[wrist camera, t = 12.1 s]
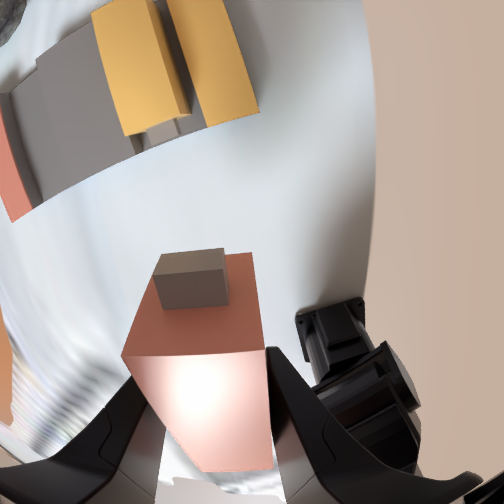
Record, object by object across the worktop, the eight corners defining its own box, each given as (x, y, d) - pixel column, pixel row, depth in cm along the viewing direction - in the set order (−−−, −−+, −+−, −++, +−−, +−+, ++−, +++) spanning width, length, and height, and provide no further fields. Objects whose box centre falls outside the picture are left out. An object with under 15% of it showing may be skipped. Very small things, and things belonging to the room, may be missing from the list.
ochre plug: (116, 28, 12) (90, 12, 8) (159, 10, 12) (141, -13, 8) (152, 145, 16) (131, 154, 12) (196, 128, 16) (186, 132, 12)
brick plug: (264, 396, 12) (273, 468, 9) (204, 400, 12) (201, 471, 9) (248, 222, 8) (262, 310, 5) (150, 232, 8) (102, 320, 5)
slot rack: (256, 113, 16) (259, 112, 14) (29, 211, 18) (11, 222, 16) (214, -12, 12) (212, -28, 10) (-4, 111, 13) (-23, 115, 11)
